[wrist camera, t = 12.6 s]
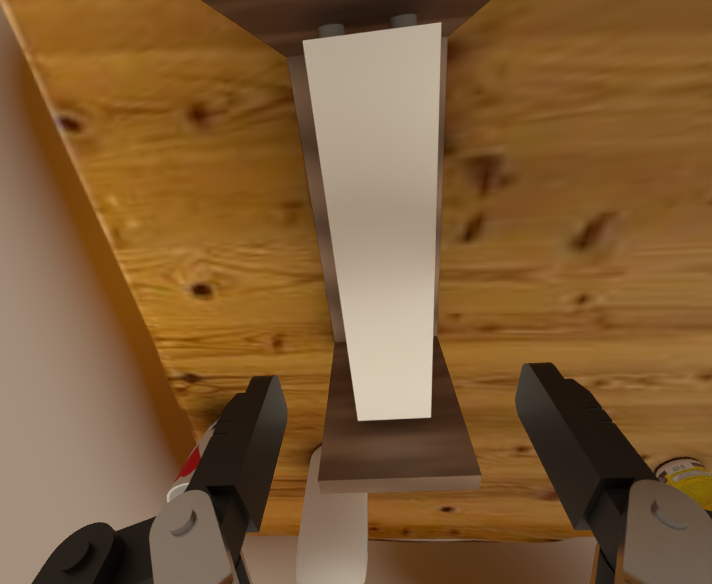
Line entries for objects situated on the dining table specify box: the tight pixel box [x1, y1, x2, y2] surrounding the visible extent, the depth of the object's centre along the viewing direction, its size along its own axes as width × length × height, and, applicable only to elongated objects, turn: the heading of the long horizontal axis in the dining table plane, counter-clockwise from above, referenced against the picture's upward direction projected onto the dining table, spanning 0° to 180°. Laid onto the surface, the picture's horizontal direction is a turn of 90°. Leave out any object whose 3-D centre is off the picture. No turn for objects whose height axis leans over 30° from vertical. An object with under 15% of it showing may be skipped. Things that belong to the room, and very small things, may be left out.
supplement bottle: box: [656, 459, 712, 511], centre depth 39 cm, size 6×6×10 cm
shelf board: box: [303, 22, 441, 421], centre depth 18 cm, size 21×5×3 cm, turn 6°
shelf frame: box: [201, 0, 490, 494], centre depth 20 cm, size 26×10×15 cm, turn 6°
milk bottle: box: [296, 446, 368, 584], centre depth 35 cm, size 8×8×20 cm
